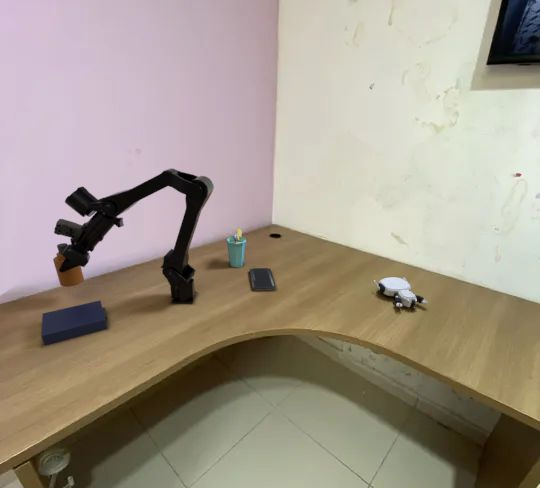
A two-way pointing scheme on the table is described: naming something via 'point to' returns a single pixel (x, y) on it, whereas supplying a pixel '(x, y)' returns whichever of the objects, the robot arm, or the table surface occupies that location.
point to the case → (73, 322)
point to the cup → (236, 249)
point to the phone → (262, 279)
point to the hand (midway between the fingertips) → (62, 266)
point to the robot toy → (399, 291)
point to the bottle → (69, 276)
